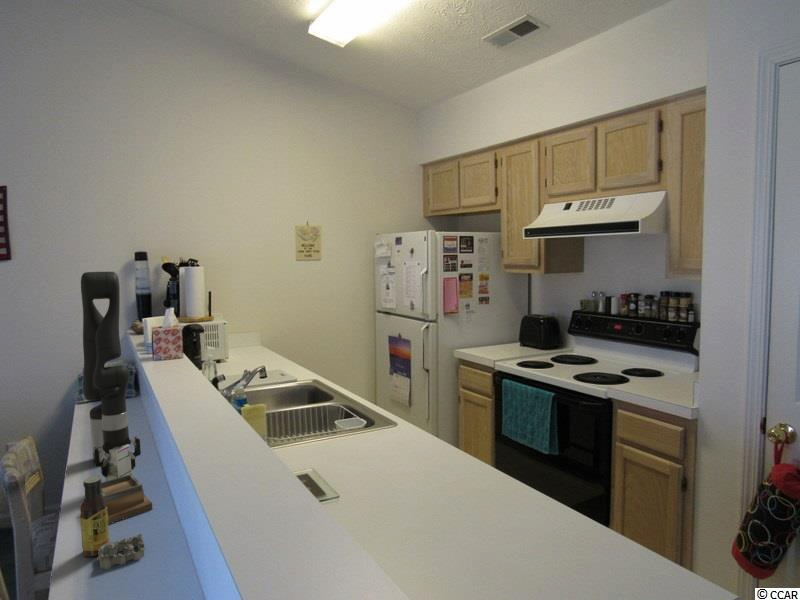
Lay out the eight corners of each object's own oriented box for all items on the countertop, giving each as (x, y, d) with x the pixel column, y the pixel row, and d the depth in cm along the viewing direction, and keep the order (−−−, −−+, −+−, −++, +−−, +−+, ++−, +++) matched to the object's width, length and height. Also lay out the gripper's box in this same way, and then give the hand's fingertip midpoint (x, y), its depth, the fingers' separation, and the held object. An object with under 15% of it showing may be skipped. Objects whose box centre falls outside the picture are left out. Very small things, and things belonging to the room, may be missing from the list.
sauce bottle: (97, 559, 134) (91, 487, 132) (76, 556, 135) (70, 484, 133) (115, 544, 140) (110, 475, 138) (96, 542, 142) (90, 473, 139)
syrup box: (133, 484, 175) (130, 443, 173) (119, 492, 170) (116, 450, 168) (120, 481, 177) (117, 441, 175) (105, 489, 171) (102, 447, 170)
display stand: (87, 506, 161) (85, 483, 160) (136, 491, 170) (134, 469, 169) (101, 526, 149) (99, 502, 148) (152, 509, 159) (150, 486, 158)
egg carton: (98, 573, 129) (96, 557, 129) (98, 557, 136) (97, 542, 135) (145, 559, 134) (144, 544, 134) (143, 544, 141) (142, 530, 140)
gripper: (135, 417, 178) (138, 462, 180) (87, 428, 169) (91, 475, 170) (142, 423, 173) (145, 469, 175) (93, 434, 163) (97, 483, 165)
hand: (118, 472), depth 173 cm, fingers closed on syrup box, 7 cm apart
